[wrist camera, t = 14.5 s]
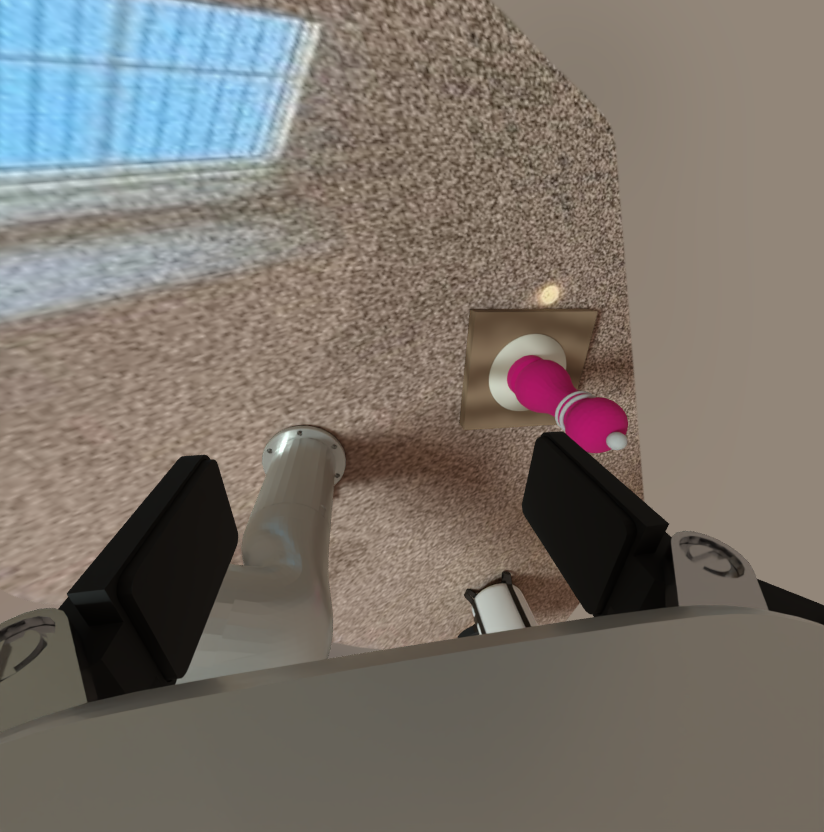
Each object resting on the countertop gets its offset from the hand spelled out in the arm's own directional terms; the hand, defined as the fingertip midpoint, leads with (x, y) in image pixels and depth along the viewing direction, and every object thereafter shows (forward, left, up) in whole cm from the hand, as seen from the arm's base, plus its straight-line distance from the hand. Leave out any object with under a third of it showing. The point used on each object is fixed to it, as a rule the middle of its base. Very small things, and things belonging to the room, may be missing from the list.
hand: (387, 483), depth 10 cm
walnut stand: (-10, -24, -38) cm, 46 cm away
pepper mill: (-10, -24, -36) cm, 44 cm away
